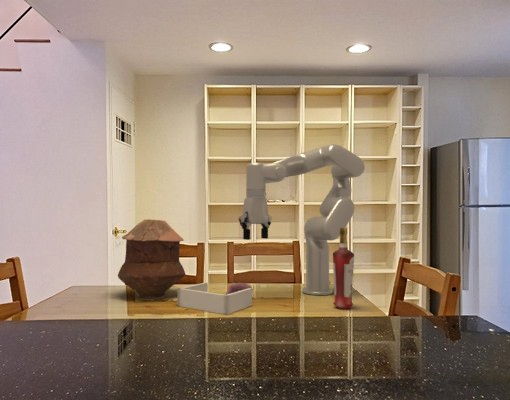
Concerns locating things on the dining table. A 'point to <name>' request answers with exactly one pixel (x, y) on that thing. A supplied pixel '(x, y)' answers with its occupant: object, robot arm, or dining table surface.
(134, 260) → the pottery vessel
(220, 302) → the bin
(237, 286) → the video game controller
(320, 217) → the robot arm
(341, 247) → the red glass bottle
